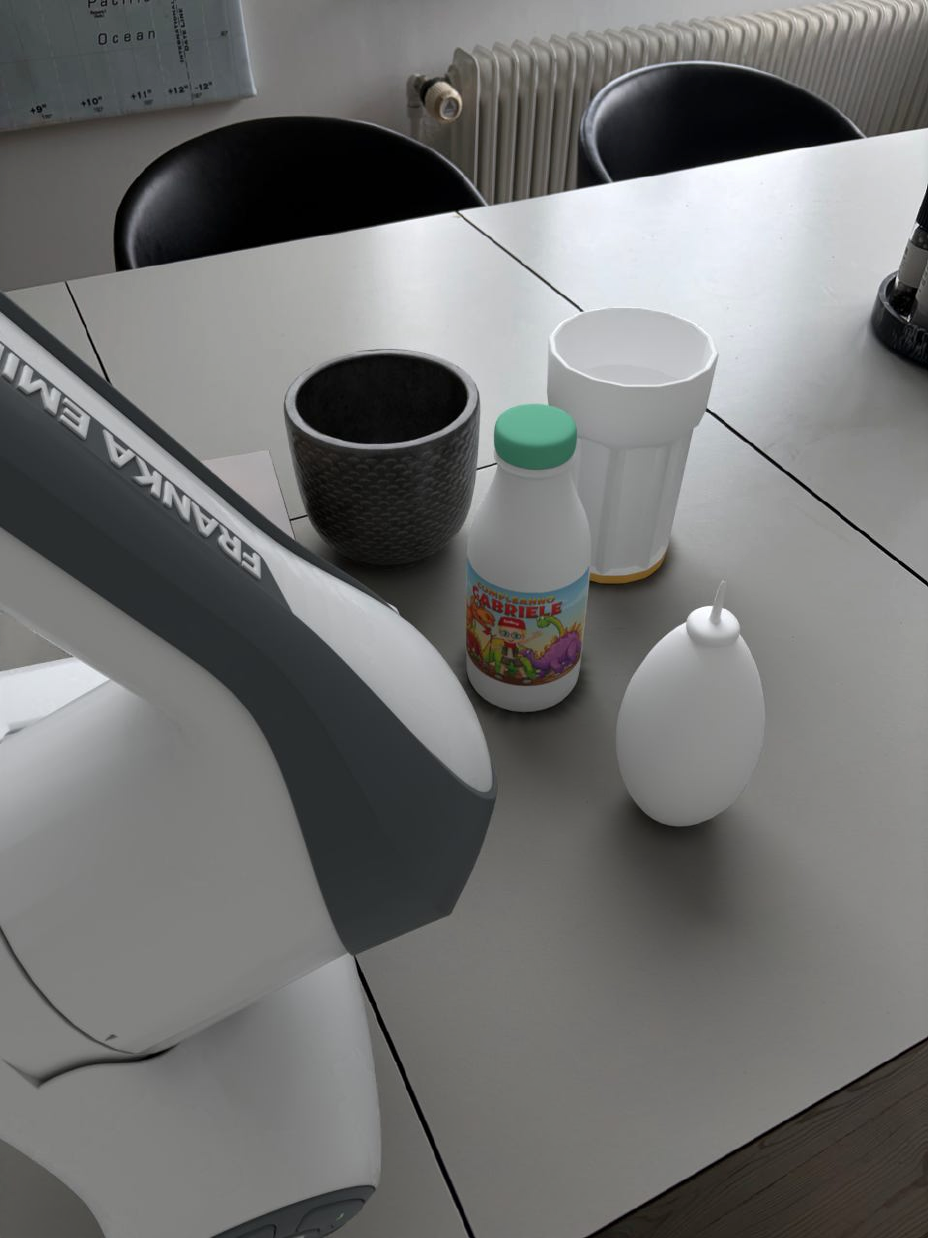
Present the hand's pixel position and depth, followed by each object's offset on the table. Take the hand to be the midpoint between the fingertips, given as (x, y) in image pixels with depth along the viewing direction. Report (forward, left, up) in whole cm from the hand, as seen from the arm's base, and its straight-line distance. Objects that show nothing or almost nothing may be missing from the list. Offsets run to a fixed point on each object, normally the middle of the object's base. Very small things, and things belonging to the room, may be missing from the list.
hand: (173, 595), depth 50 cm
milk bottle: (+21, +5, -17) cm, 27 cm away
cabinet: (+2, +17, -17) cm, 24 cm away
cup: (+32, +16, -17) cm, 39 cm away
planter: (+16, +22, -17) cm, 32 cm away
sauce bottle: (+26, -8, -17) cm, 32 cm away
